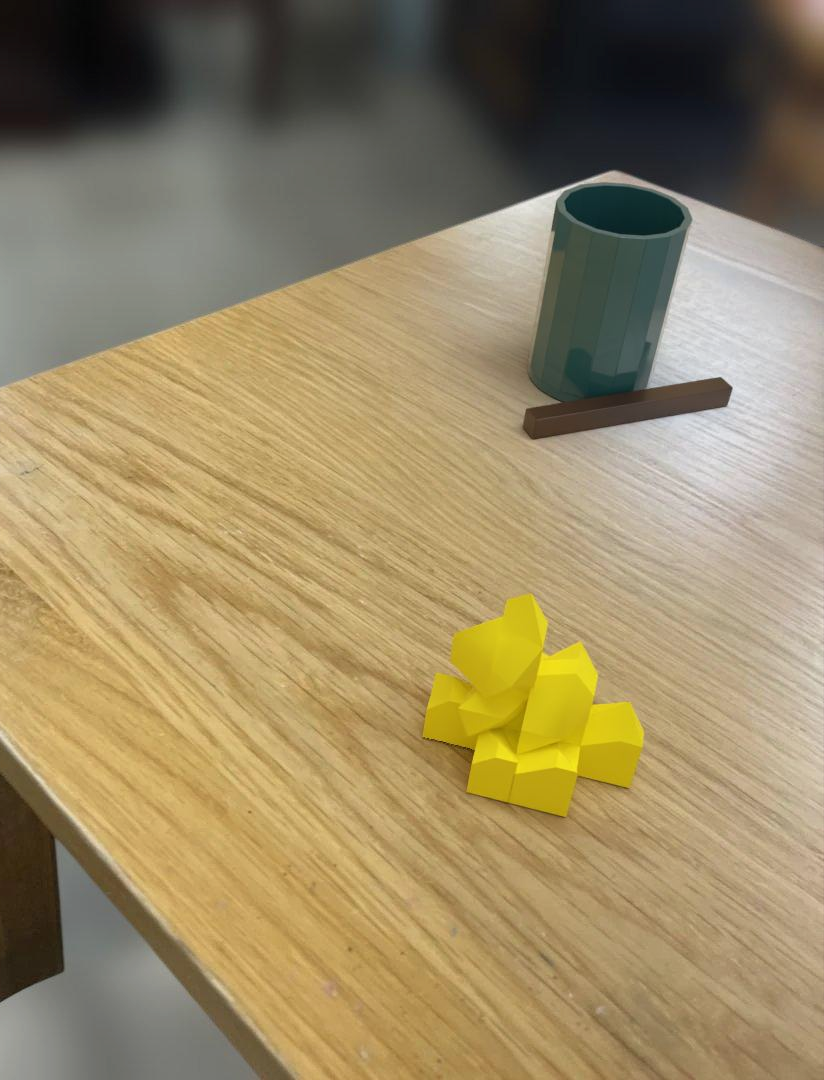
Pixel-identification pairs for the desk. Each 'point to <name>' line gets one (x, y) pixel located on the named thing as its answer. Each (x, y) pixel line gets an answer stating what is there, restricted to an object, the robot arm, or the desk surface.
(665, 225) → the cup
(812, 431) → the desk surface
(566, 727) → the yellow faceted cluster
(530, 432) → the strip
